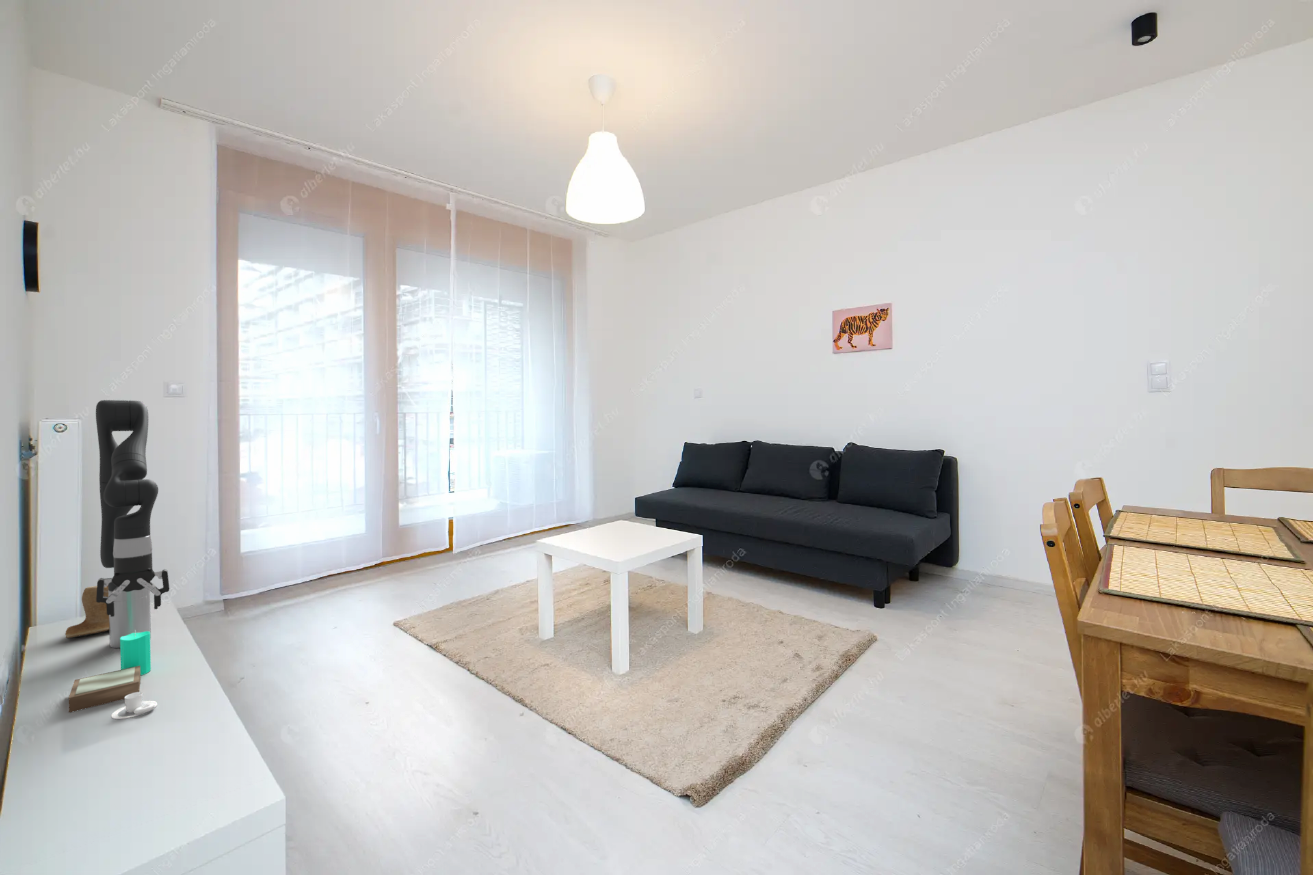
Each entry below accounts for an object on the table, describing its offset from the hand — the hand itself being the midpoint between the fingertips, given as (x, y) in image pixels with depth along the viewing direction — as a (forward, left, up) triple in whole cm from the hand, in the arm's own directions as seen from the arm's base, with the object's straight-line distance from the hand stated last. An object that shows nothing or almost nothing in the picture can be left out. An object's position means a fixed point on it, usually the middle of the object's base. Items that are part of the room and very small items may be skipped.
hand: (134, 612), depth 147 cm
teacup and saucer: (+28, -1, -18) cm, 33 cm away
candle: (0, 0, -17) cm, 17 cm away
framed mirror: (+11, -5, -17) cm, 21 cm away
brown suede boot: (-48, -10, -17) cm, 52 cm away
